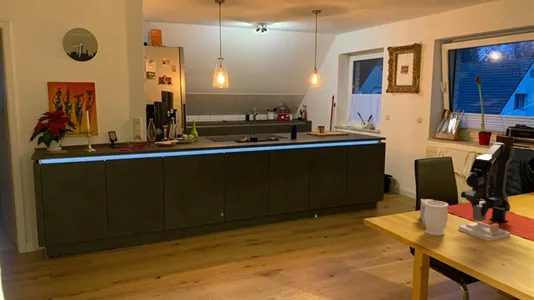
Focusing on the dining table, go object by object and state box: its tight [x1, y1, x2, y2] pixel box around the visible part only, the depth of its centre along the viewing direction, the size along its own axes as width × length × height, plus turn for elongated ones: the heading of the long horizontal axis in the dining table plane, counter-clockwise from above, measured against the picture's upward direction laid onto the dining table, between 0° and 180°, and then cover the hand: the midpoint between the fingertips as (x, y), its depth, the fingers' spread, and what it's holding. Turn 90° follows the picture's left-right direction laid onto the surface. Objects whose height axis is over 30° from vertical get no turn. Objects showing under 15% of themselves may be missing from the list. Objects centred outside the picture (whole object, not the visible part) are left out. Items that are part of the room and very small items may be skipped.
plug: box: [472, 203, 487, 222], centre depth 201 cm, size 4×4×7 cm
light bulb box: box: [419, 198, 435, 225], centre depth 217 cm, size 11×7×11 cm, turn 169°
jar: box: [424, 200, 449, 237], centre depth 199 cm, size 11×10×15 cm
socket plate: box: [458, 221, 511, 242], centre depth 199 cm, size 14×17×3 cm
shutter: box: [483, 222, 506, 235], centre depth 194 cm, size 6×6×4 cm
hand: (479, 215), depth 201 cm, fingers closed on plug, 4 cm apart
